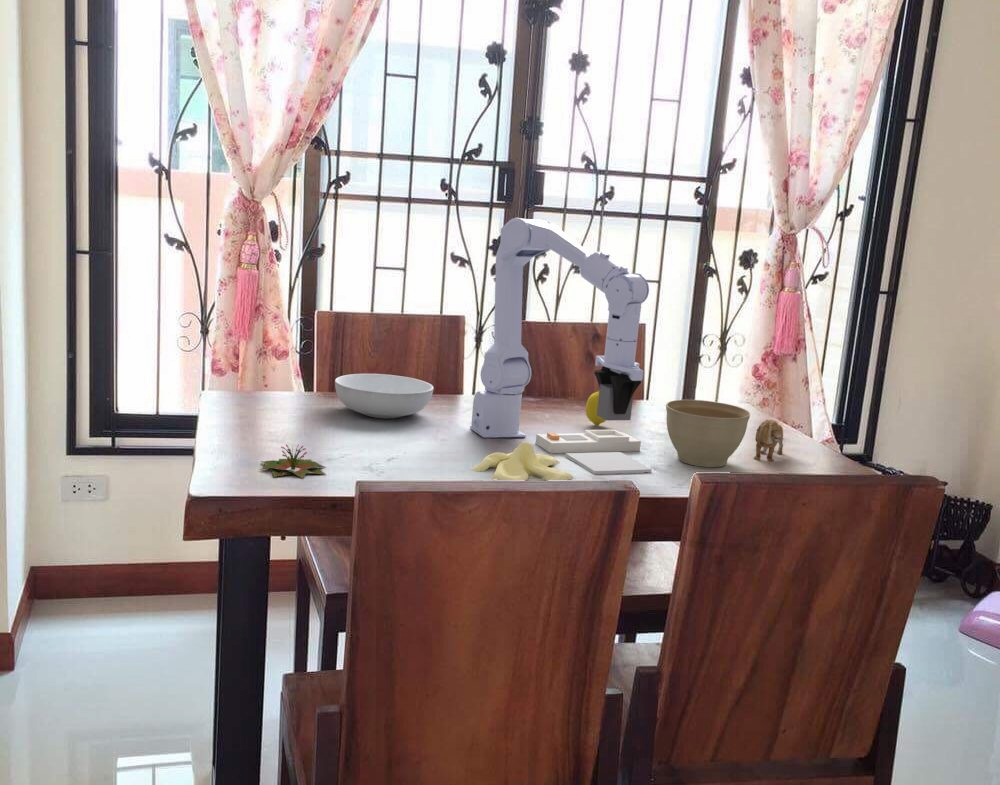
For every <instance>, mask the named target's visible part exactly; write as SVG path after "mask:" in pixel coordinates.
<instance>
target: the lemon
mask: <svg viewBox="0 0 1000 785" xmlns="http://www.w3.org/2000/svg"><path fill="white" fill-rule="evenodd" d="M598 398H599V390H598V391H596V392H593V393H592V394H590V395H589V397H588V399H587V401H586V405H585V415H586V417H587V418H586V419H588V420H589V422H592V423H593V425H594V426H595V427H598V426H600V424H603V423H605V422H606V421H607V420H605V419H603V418H601V417H599V416H597V408H598Z"/></svg>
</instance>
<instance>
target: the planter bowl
mask: <svg viewBox="0 0 1000 785" xmlns="http://www.w3.org/2000/svg"><path fill="white" fill-rule="evenodd" d="M665 408H666V410H665V411H666V419H665V420H666V427H667V428H666V429H667V433H668V436H669V439H670V441H671V444H672V446H673V448H674V449H675V451H676V454H677V458H678V459H677V460H679V461H680V462H682V463H685V464H688V465H691V466H695V467H696V466H697V467H703V468H704V467H705V468H718V467H724V466H726V465H727V463H728V461H729V460H728V459H729V458H730V457H731V456H732V455H733V454H734V453H735V452H736V451H737V449H738V448H739V446H740V445H741V443H742V441H743V439H744V437H745V434H746V433H747V432H746V431H747V428H748V423H749V421H750V420H749V419H750V418H751V413H750V411H749V410H747V409H745V408H743V407H740V406H737V405H733V404H729V403H724V402H719V401H710V400H704V399H702V400H701V399H676V400H671V401H669V402H667V403H666V406H665Z"/></svg>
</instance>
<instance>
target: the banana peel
mask: <svg viewBox="0 0 1000 785" xmlns="http://www.w3.org/2000/svg"><path fill="white" fill-rule="evenodd" d="M557 464H560V461H559V460H558V459H556V458H555V457H553V456H551V455H547V454H540V453H535V450H534V445H533V443H530V442H528V441H523V440H522V441H521V442H520V443H519V444H518V445H517V446H516V447H515V448H514V449H513V451H512V452H510V453H505V452H493V453H491V454H489V455H486V456H485V457H484V458H483V460H481V462H480V463H479V464H478V465H476V466H473V467H472V468H470V469H469V471H472V472H484V471H487V470H488V469H489V468H496V469H495V472H494V474H493V475H492V477H491V480H492V479H497V480H527V481H528V480H529V477H530V475H532V476H536V477H539V478H542V479H543V478H544V479H543V480H545V481H547V480H567V479H570V480H572V479H571V478H573V479H574V476H573V475H572V474H571V473H569V472H567V471H566V470H565V471H564V470H559V469H557V468H553V467H554V466H555V465H557ZM549 466H552V467H549ZM567 481H568V480H567Z"/></svg>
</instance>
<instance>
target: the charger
mask: <svg viewBox="0 0 1000 785" xmlns="http://www.w3.org/2000/svg"><path fill="white" fill-rule="evenodd" d="M598 391H599V398H598V408H597V416H599V417H601V418H603V419H605V420H606V421H631V415H632V410H633V408H632V407H633V402H634V401H633V400H634V395H633V396H632V398H631V400H630V403H629V405H628V408H627V411H626V413H625V414H614V408H613V402H614V394H613V386H612V384H600V388H599V390H598Z"/></svg>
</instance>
